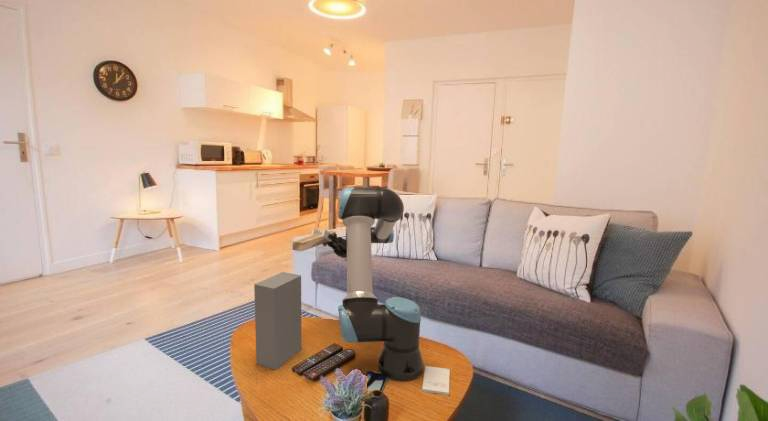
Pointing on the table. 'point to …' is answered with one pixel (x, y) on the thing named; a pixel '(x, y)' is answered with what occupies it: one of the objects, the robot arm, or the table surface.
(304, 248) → the birch strip
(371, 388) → the smartphone
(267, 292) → the tall stand
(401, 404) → the table surface
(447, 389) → the external hard drive
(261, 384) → the table surface
